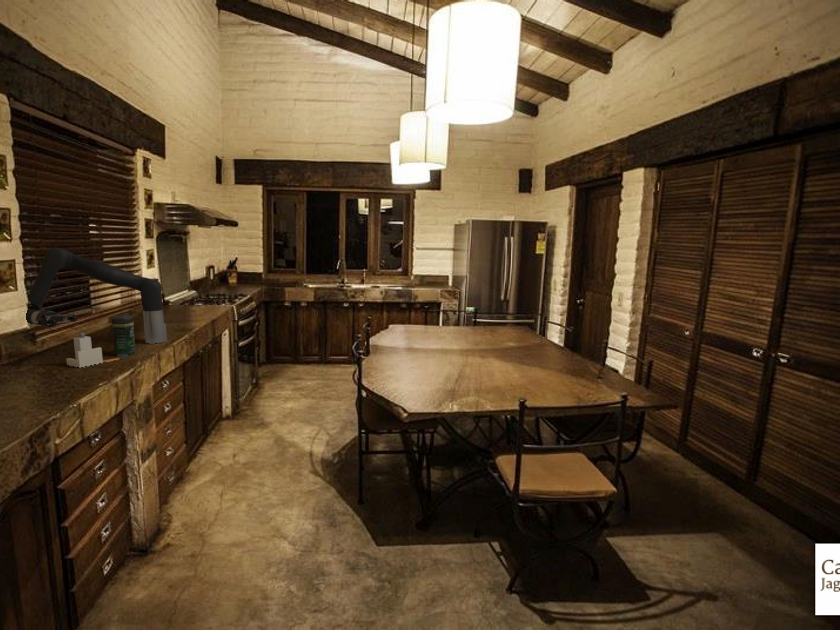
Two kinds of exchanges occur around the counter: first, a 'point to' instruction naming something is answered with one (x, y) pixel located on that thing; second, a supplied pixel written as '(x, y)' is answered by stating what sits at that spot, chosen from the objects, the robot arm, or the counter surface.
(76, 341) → the white square bottle
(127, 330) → the coffee jar
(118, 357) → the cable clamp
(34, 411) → the counter surface
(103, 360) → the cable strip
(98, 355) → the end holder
